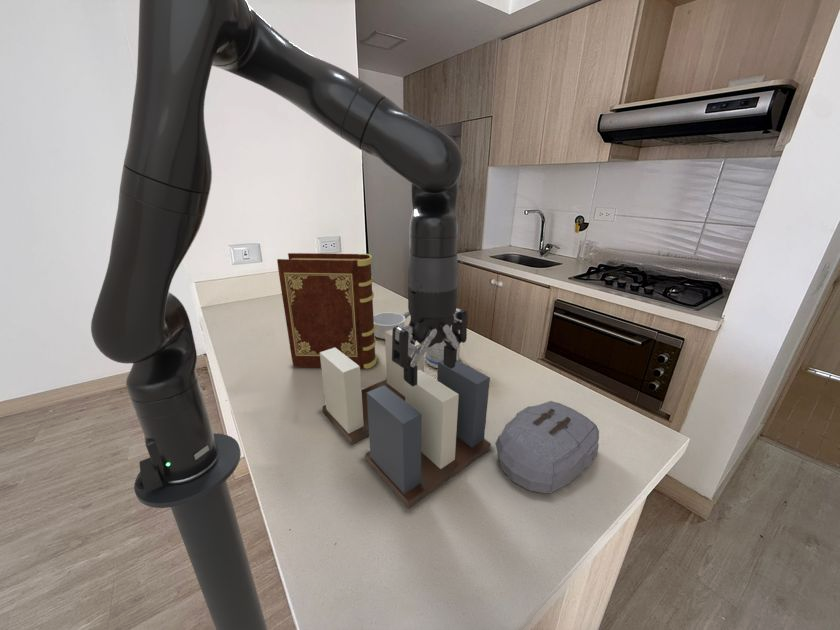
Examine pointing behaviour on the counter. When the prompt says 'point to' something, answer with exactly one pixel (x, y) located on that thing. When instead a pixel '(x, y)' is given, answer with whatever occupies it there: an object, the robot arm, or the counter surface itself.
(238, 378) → the counter surface
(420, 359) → the cream book right
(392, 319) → the saucepan
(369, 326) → the decorative book
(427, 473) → the book rack
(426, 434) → the cream book
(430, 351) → the supplement tub
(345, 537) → the counter surface
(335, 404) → the cream book left
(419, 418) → the grey book left
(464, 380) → the grey book right
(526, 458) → the grey rounded bag
